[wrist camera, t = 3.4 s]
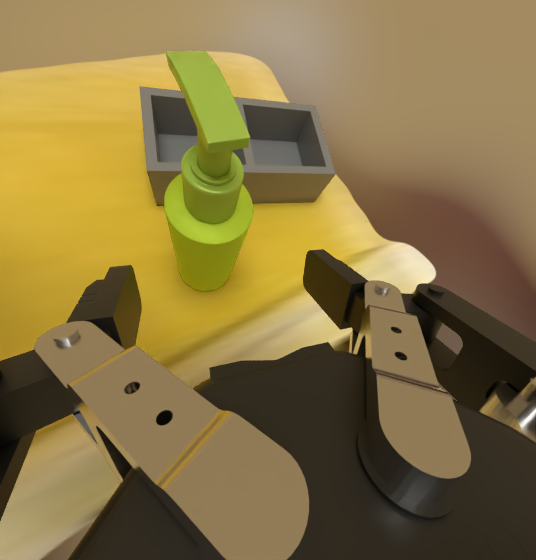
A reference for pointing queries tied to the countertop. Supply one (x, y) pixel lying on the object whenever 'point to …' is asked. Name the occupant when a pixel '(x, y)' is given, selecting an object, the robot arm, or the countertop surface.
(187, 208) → the soap dispenser
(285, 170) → the caddy
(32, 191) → the countertop surface
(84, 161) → the countertop surface
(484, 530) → the robot arm
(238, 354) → the countertop surface
